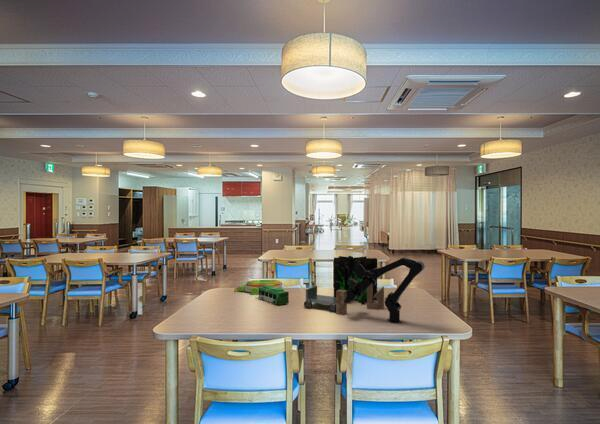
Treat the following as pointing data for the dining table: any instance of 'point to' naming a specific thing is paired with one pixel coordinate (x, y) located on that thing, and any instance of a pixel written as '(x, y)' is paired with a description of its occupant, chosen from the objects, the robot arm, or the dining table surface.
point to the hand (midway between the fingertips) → (347, 300)
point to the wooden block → (378, 295)
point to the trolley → (319, 299)
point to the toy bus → (273, 295)
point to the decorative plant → (352, 274)
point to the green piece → (257, 285)
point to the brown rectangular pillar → (341, 302)
